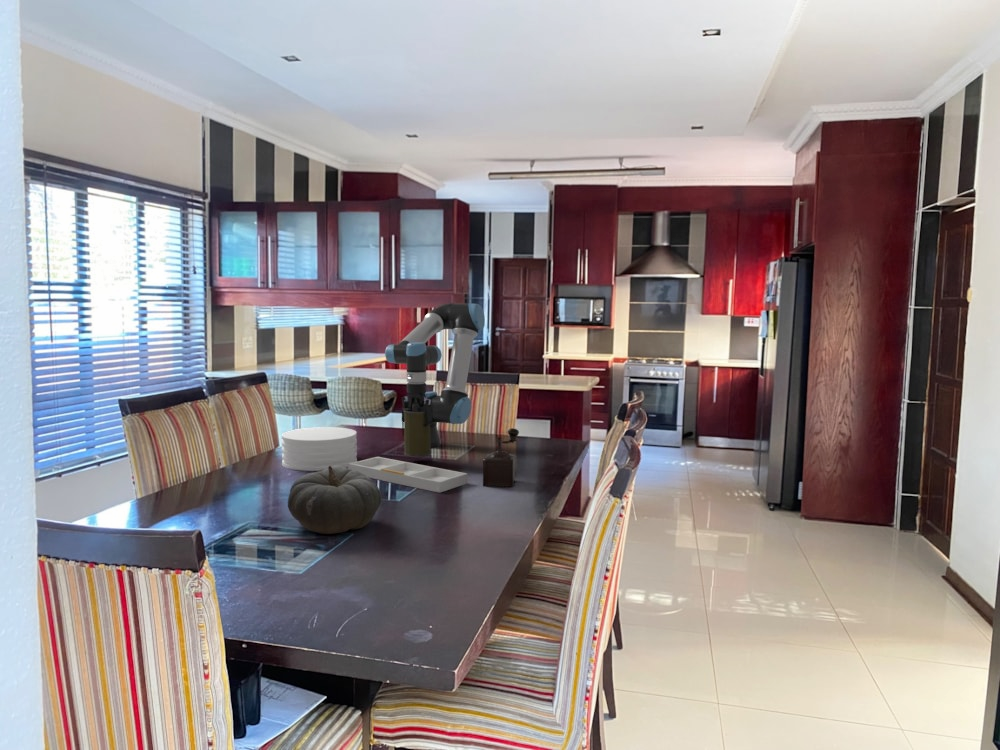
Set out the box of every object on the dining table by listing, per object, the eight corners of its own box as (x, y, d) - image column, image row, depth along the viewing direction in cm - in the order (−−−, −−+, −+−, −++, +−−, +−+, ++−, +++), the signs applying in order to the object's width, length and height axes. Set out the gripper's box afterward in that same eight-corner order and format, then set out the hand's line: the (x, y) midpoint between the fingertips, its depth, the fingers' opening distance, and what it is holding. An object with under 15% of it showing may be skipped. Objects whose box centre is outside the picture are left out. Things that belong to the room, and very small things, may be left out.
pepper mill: (514, 488, 235) (515, 435, 234) (482, 486, 237) (482, 434, 235) (518, 476, 251) (519, 427, 249) (488, 475, 252) (489, 426, 250)
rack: (348, 473, 252) (348, 462, 252) (377, 465, 265) (377, 455, 264) (439, 492, 228) (439, 480, 228) (467, 483, 240) (467, 472, 240)
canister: (433, 451, 276) (432, 401, 274) (427, 457, 266) (427, 405, 264) (406, 450, 277) (405, 400, 275) (400, 456, 267) (399, 405, 265)
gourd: (345, 497, 211) (345, 444, 206) (400, 528, 196) (402, 471, 191) (271, 524, 193) (270, 467, 188) (326, 560, 178) (326, 499, 173)
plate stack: (365, 456, 282) (365, 428, 281) (343, 472, 254) (343, 441, 253) (298, 453, 285) (298, 425, 284) (269, 469, 257) (269, 439, 256)
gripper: (391, 381, 271) (392, 439, 273) (429, 385, 260) (429, 446, 262) (404, 379, 277) (405, 436, 279) (442, 383, 266) (442, 442, 269)
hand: (416, 441), depth 271 cm, fingers open, 6 cm apart
